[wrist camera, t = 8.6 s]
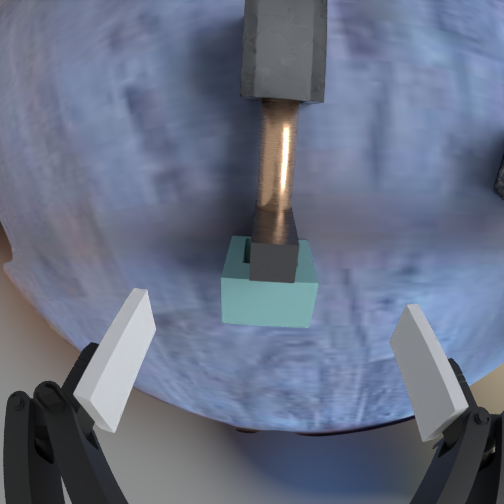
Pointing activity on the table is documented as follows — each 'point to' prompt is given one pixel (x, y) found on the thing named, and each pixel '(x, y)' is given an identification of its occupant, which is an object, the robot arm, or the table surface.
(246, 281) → the socket
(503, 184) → the stone
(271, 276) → the hammer
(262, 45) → the sleeve
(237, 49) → the table surface
